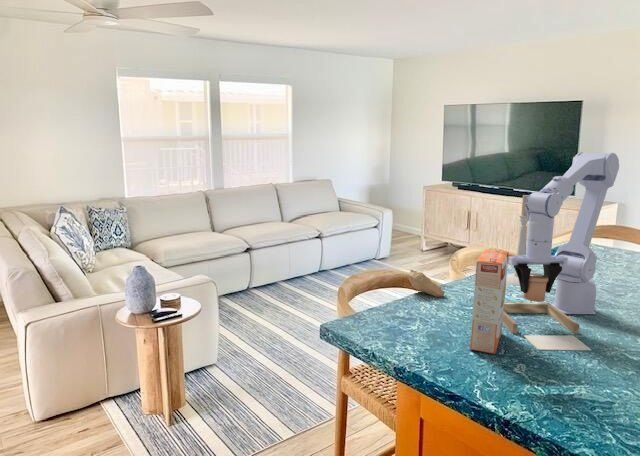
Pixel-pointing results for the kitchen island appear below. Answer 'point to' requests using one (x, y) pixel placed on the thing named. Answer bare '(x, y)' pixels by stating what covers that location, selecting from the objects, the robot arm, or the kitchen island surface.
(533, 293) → the terracotta pot
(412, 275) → the pottery oil lamp
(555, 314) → the wooden u-shaped frame
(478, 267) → the cracker box
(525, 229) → the candlestick
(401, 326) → the kitchen island surface
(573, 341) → the potting tile
